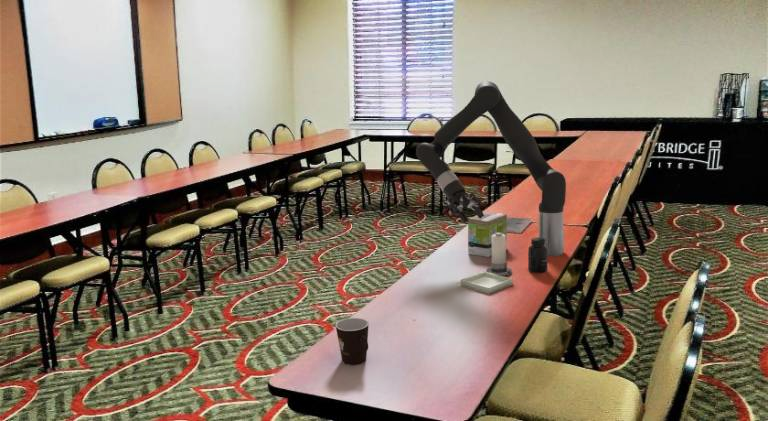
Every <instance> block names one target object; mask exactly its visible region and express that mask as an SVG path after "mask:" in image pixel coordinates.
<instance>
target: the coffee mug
mask: <svg viewBox="0 0 768 421" xmlns="http://www.w3.org/2000/svg"><path fill="white" fill-rule="evenodd" d="M335 331H336V335H337V340H338V347H339V351H340V356H341V357H340V358H341V361H343V362H344V363H345V365H347V364H349V365H348V366H357V364H359V365H362V364H364V363H365V362H366V361H367V354H368V350H369V342H368V341H369V340H368V339H369V320H368V319H367V320H366V319H365V318H360V317H350V318H349V317H348V318H344V319H340V320H339V321H337V322H336V323H335ZM343 362H342V363H343ZM363 362H364V363H363ZM344 363H343V364H344ZM361 363H362V364H361Z"/></svg>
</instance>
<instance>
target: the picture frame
mask: <svg viewBox="0 0 768 421" xmlns="http://www.w3.org/2000/svg"><path fill="white" fill-rule="evenodd" d="M531 223H532V218H531V217H514V216H513V217H512V216H507V233H511V234H512V233H514V234H515V233H516V234H522V232H524V231H525V230H526V228H527V227H528V226H529V225H530V224H531Z"/></svg>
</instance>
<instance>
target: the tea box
mask: <svg viewBox="0 0 768 421" xmlns="http://www.w3.org/2000/svg"><path fill="white" fill-rule="evenodd" d="M483 214H484V216H483V217H482V218H479V217H478V216H477V215H474V216H472V217H469V218H468V221H467V225H468V226H467V229H468V230H467V253H468V254H469V255H473V256H479V257H487V258H489V257H492V235H493V234H495V233H502V234H504V235H506V239H508V238H507V236H508V235H507V233H508V232H507V217H508V216H507V215H508V214H507V213H498V212H493V211H492V212H489V211H485V212H483ZM506 243H507V240H506Z"/></svg>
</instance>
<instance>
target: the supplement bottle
mask: <svg viewBox="0 0 768 421" xmlns="http://www.w3.org/2000/svg"><path fill="white" fill-rule="evenodd" d="M530 239H531V240H530V244H531V245H530V246H529V247H528V253H527V255H528V258H527V259H528V260H527V262H528V264H527V265H528V266H527V269H528V272H530V273H533V274H544V273H546V272H548V258H549V256H548V249H547V247H546V246H545V239H544V238H539V236H538V237H537V236H536V237H532V238H530Z"/></svg>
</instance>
